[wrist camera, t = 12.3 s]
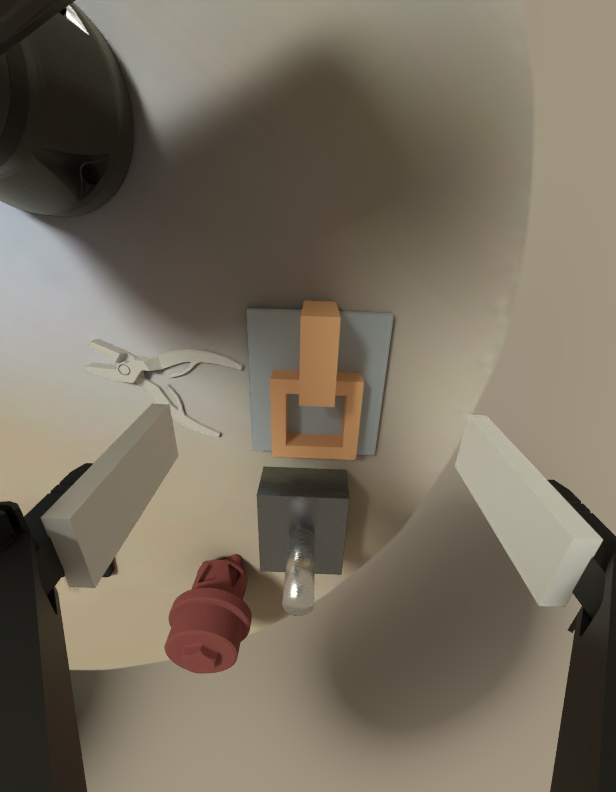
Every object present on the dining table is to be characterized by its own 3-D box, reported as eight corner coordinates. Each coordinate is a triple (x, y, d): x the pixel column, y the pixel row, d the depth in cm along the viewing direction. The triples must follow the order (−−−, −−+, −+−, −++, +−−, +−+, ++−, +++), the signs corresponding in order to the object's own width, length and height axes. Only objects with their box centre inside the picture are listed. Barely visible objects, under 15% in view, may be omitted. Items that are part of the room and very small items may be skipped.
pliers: (216, 442, 38) (81, 397, 36) (219, 435, 40) (90, 391, 38) (241, 367, 34) (92, 310, 32) (244, 362, 36) (101, 307, 34)
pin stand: (263, 466, 41) (241, 558, 29) (345, 470, 41) (357, 563, 29) (266, 538, 46) (248, 641, 34) (339, 541, 46) (346, 645, 34)
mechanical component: (177, 567, 49) (217, 530, 46) (232, 598, 52) (274, 566, 48) (136, 664, 38) (184, 624, 34) (209, 697, 40) (260, 664, 37)
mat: (248, 307, 33) (246, 309, 32) (391, 312, 33) (393, 314, 32) (254, 445, 40) (253, 450, 39) (373, 450, 39) (374, 455, 38)
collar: (272, 299, 31) (260, 314, 25) (368, 302, 31) (380, 318, 25) (274, 443, 38) (265, 484, 32) (353, 446, 38) (360, 488, 32)
